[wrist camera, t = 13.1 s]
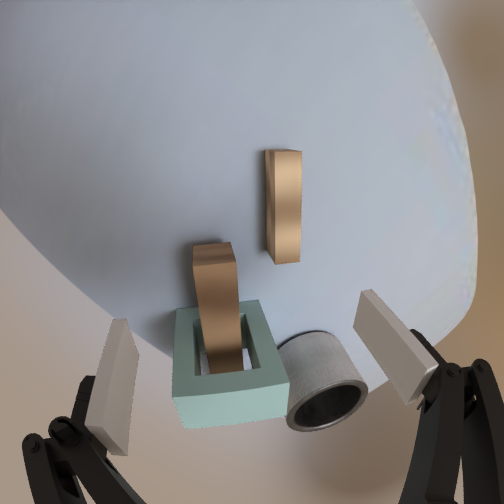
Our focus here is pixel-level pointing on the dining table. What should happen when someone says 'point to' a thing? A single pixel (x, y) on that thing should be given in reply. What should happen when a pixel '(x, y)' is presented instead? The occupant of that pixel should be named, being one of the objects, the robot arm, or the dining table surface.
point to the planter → (320, 382)
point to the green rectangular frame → (228, 374)
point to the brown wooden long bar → (219, 305)
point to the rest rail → (283, 204)
